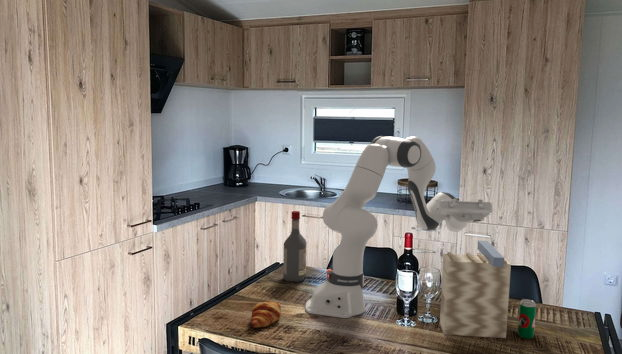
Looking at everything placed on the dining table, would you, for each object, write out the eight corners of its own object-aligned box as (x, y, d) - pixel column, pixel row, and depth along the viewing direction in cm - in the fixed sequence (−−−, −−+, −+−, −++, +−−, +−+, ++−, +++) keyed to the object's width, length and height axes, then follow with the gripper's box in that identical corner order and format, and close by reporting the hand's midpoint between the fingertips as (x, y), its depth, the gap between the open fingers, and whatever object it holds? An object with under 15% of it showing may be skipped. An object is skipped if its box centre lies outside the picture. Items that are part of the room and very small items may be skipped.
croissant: (271, 317, 187) (262, 297, 187) (293, 308, 184) (284, 288, 184) (245, 339, 167) (236, 317, 168) (270, 329, 164) (260, 307, 164)
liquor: (282, 281, 217) (283, 213, 214) (286, 274, 226) (287, 209, 223) (302, 282, 216) (304, 214, 212) (306, 276, 225) (307, 210, 221)
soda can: (535, 340, 163) (538, 304, 162) (519, 338, 164) (521, 303, 163) (531, 333, 168) (534, 299, 167) (515, 332, 169) (518, 298, 168)
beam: (493, 266, 158) (493, 257, 158) (477, 248, 180) (477, 240, 180) (503, 267, 158) (504, 257, 158) (486, 249, 180) (487, 240, 179)
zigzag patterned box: (443, 334, 167) (447, 258, 164) (439, 323, 175) (443, 251, 172) (505, 338, 165) (511, 261, 162) (498, 326, 173) (503, 254, 170)
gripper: (435, 204, 206) (440, 192, 193) (486, 206, 204) (495, 194, 191) (435, 219, 203) (441, 207, 191) (487, 221, 201) (496, 209, 189)
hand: (468, 200), depth 191 cm, fingers open, 8 cm apart
